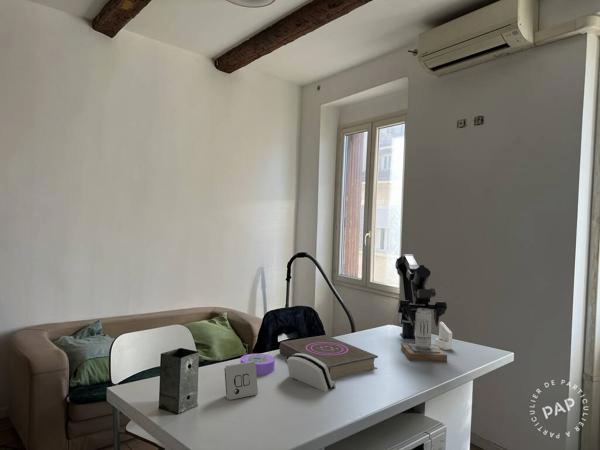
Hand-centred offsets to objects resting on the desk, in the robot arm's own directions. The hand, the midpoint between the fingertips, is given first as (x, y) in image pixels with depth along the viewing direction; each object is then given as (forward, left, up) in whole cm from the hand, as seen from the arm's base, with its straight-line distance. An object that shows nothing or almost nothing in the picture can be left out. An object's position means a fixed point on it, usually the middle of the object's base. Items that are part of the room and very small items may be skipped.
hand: (425, 325), depth 167 cm
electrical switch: (+43, -66, -12) cm, 80 cm away
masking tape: (+21, -63, -12) cm, 67 cm away
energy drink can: (-2, 0, -9) cm, 9 cm away
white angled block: (-13, +12, -12) cm, 22 cm away
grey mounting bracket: (+31, -45, -12) cm, 57 cm away
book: (+9, -39, -13) cm, 42 cm away
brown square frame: (-1, 0, -12) cm, 12 cm away
